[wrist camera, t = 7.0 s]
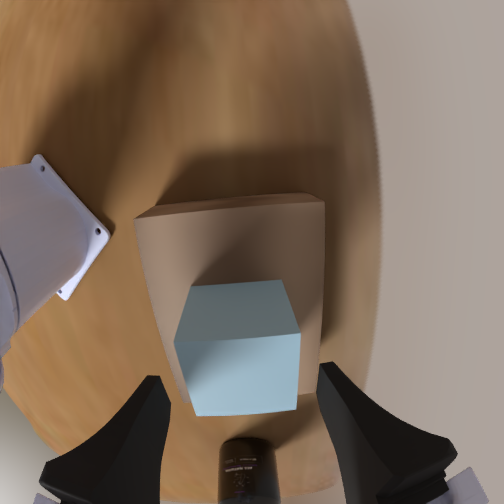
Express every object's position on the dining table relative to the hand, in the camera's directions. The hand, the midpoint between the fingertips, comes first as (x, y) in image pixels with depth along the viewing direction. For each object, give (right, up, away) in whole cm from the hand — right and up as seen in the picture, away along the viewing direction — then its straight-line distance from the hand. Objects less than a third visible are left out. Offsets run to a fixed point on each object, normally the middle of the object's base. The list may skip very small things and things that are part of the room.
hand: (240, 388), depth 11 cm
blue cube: (0, +2, +5) cm, 5 cm away
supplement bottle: (0, -18, +16) cm, 24 cm away
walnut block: (0, +3, +8) cm, 9 cm away
